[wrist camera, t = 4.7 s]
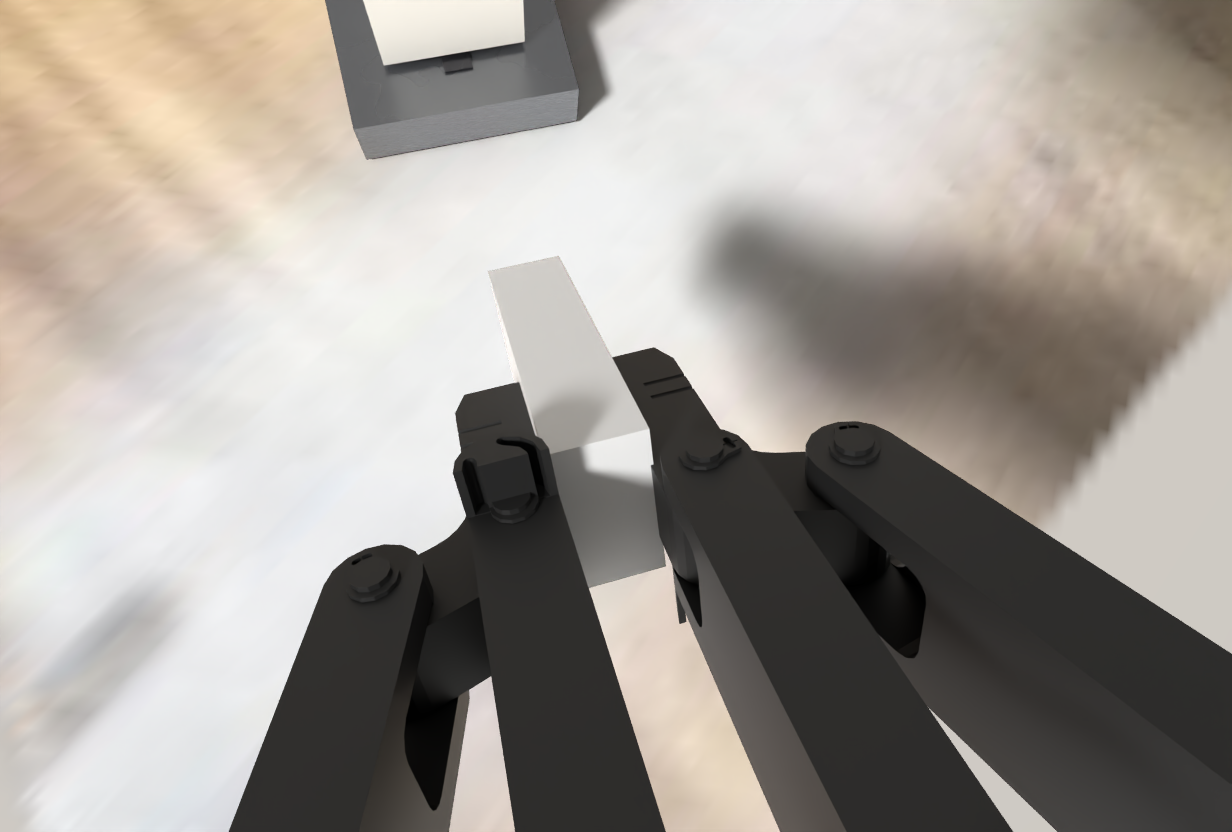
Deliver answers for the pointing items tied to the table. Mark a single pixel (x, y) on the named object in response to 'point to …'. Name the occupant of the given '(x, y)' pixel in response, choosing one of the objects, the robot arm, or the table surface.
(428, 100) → the grey slotted track base
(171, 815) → the table surface
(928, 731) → the robot arm
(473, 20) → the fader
